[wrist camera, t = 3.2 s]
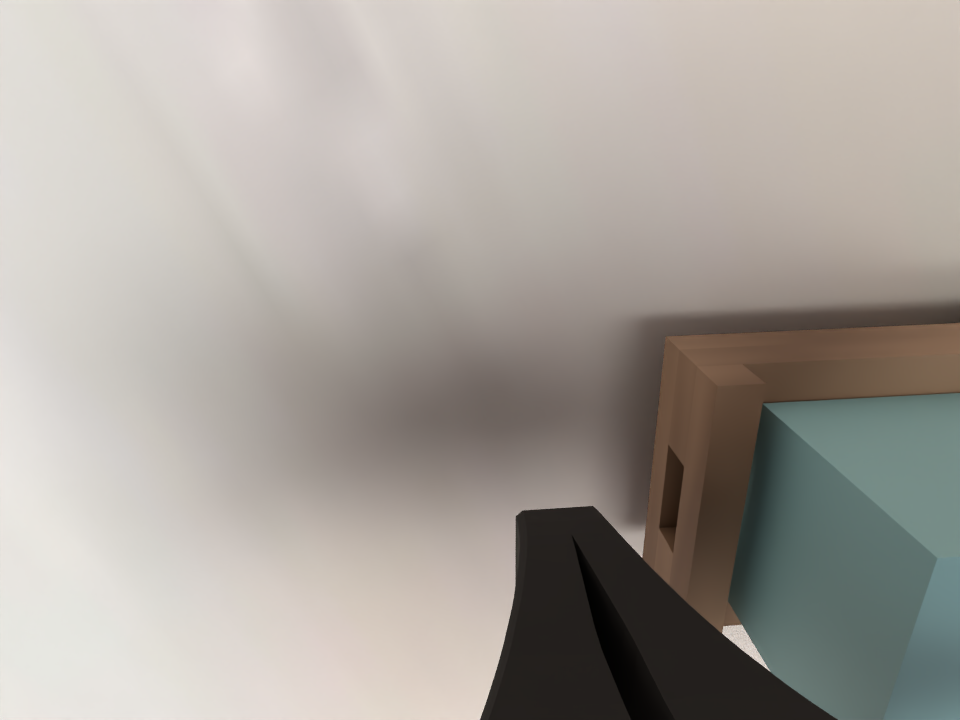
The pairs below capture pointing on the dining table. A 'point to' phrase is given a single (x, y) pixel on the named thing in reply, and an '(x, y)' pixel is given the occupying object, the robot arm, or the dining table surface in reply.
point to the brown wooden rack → (734, 426)
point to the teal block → (856, 554)
